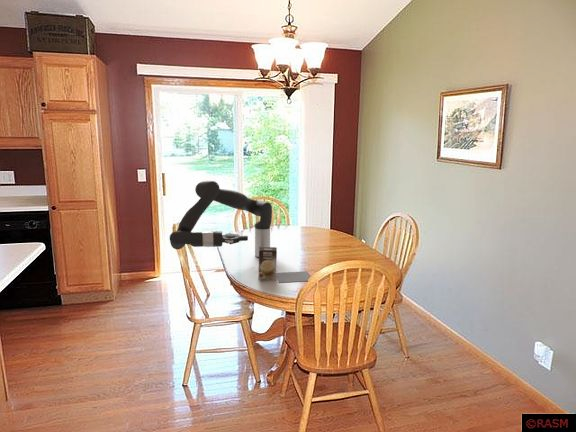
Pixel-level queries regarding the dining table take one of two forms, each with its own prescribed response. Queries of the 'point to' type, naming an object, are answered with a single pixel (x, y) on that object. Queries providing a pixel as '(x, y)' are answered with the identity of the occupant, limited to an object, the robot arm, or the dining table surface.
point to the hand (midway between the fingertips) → (247, 238)
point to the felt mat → (292, 276)
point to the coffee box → (267, 263)
